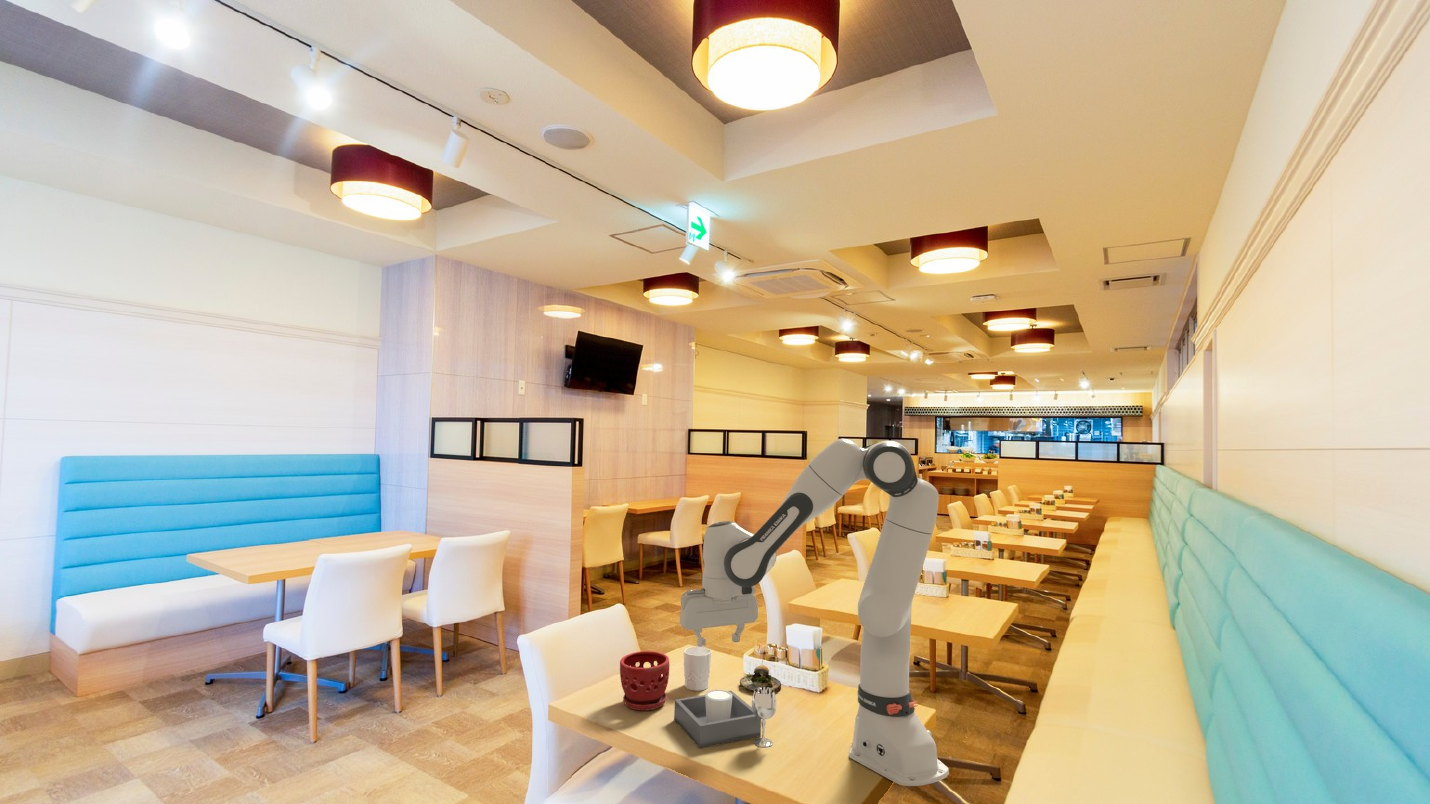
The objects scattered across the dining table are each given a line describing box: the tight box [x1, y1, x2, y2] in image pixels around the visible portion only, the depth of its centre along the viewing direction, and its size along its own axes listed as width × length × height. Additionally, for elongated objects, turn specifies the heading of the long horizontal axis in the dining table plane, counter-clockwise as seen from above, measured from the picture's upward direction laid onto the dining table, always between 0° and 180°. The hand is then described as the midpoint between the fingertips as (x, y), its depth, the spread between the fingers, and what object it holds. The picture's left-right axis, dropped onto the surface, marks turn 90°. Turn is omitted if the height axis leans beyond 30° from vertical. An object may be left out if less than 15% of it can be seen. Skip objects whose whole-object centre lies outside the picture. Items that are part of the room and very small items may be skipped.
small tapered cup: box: [704, 689, 733, 723], centre depth 160 cm, size 7×7×7 cm
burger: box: [739, 659, 782, 692], centre depth 187 cm, size 12×12×8 cm
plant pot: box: [619, 650, 670, 711], centre depth 173 cm, size 13×13×12 cm
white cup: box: [683, 646, 712, 692], centre depth 186 cm, size 8×8×10 cm
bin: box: [673, 690, 762, 749], centre depth 160 cm, size 16×16×5 cm
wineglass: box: [751, 687, 777, 748], centre depth 153 cm, size 6×6×12 cm
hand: (718, 643), depth 161 cm, fingers open, 8 cm apart
